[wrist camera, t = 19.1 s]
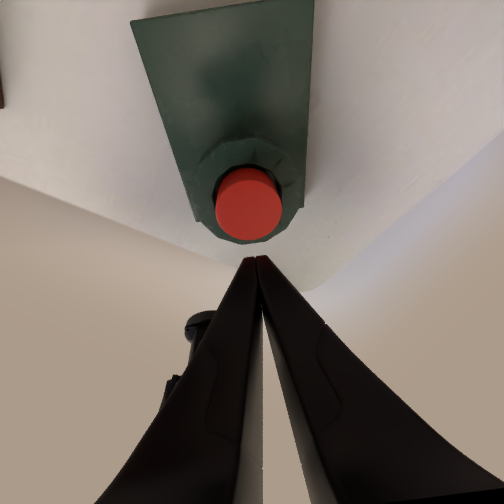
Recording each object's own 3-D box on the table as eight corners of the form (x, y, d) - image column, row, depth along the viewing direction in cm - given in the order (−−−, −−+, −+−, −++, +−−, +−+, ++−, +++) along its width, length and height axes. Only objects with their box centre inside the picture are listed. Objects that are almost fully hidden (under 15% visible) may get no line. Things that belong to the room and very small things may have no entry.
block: (299, 215, 16) (310, 235, 14) (202, 228, 17) (197, 251, 14) (307, 0, 9) (332, -29, 7) (138, 27, 10) (107, 7, 7)
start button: (277, 218, 14) (282, 236, 12) (224, 226, 14) (223, 244, 12) (274, 162, 11) (281, 175, 10) (211, 171, 11) (207, 185, 10)
